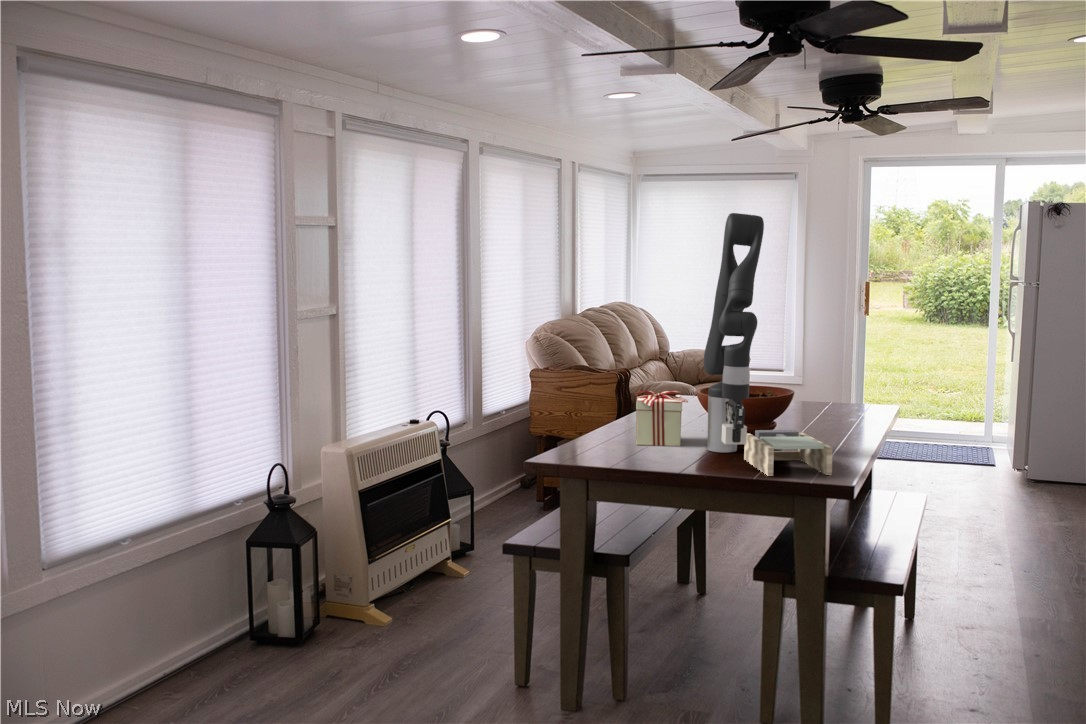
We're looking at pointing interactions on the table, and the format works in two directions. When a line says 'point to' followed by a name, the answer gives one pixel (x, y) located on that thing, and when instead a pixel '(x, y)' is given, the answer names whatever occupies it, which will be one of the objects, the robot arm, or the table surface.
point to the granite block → (727, 434)
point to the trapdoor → (787, 439)
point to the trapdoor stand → (786, 455)
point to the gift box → (658, 418)
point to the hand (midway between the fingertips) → (733, 439)
